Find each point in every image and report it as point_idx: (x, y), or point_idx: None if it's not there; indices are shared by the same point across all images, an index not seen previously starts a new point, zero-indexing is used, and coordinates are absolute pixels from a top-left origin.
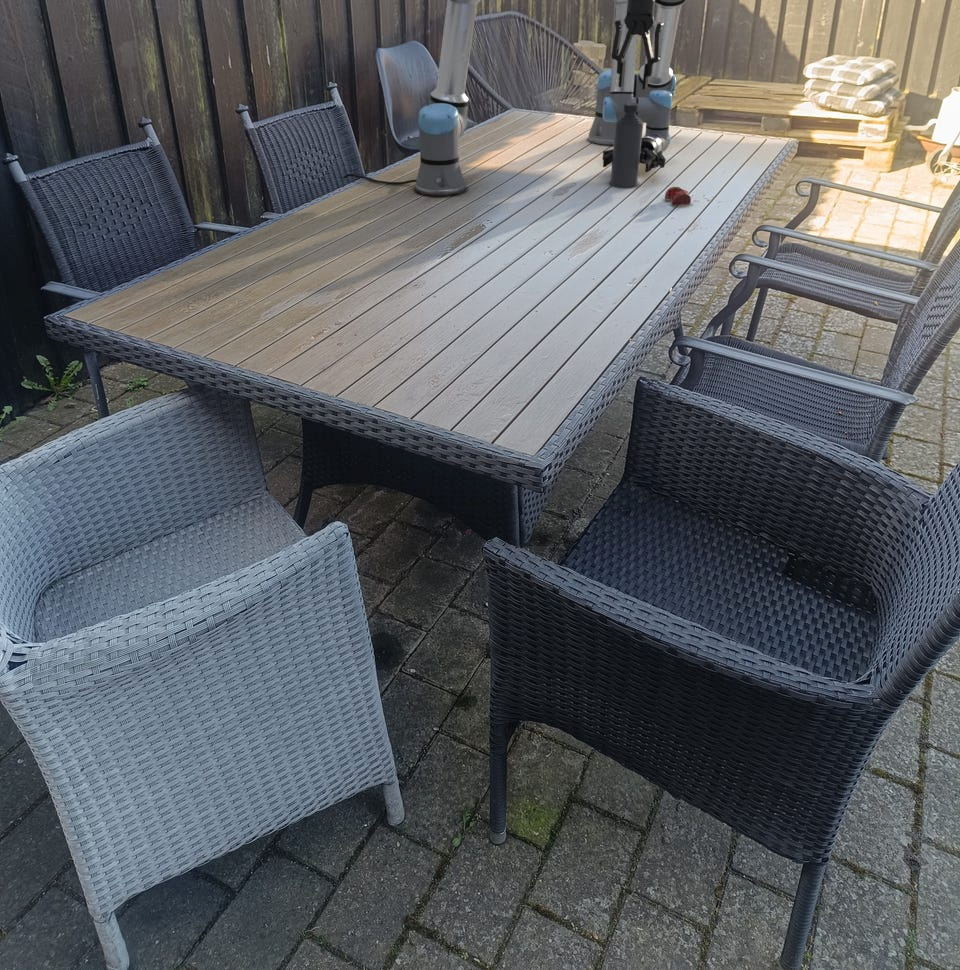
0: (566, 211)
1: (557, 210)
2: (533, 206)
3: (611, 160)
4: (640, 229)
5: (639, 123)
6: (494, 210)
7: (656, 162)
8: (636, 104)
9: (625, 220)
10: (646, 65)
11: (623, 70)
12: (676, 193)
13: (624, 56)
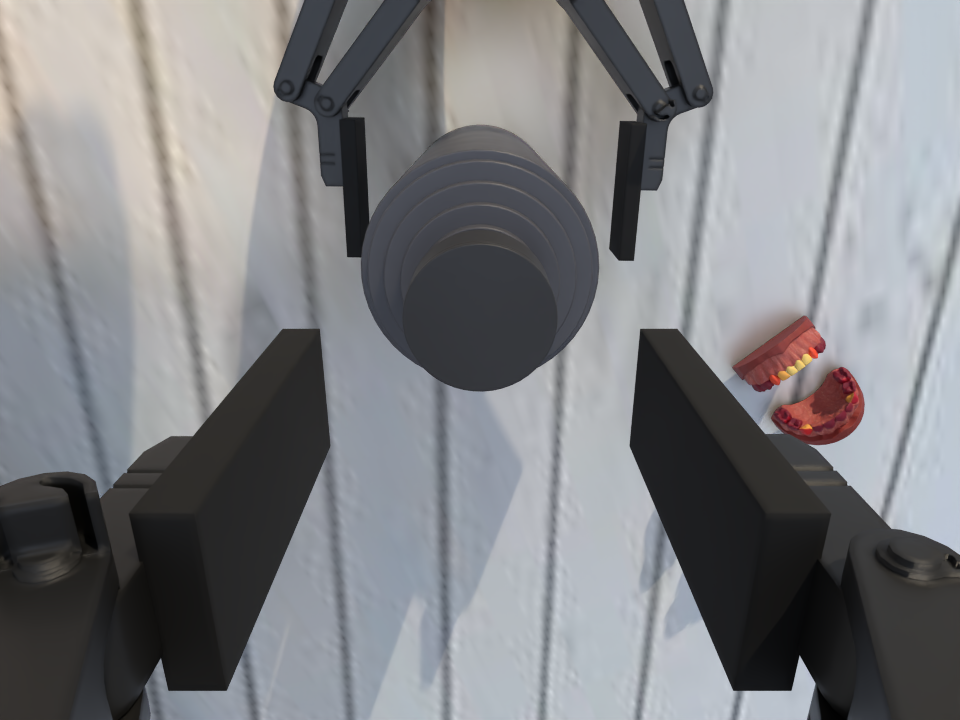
0: (400, 633)
1: (366, 636)
2: (267, 633)
3: (363, 136)
4: (699, 686)
5: (580, 316)
6: (173, 712)
7: (663, 159)
8: (536, 314)
9: (629, 634)
10: (766, 677)
11: (267, 519)
12: (806, 435)
13: (104, 624)
